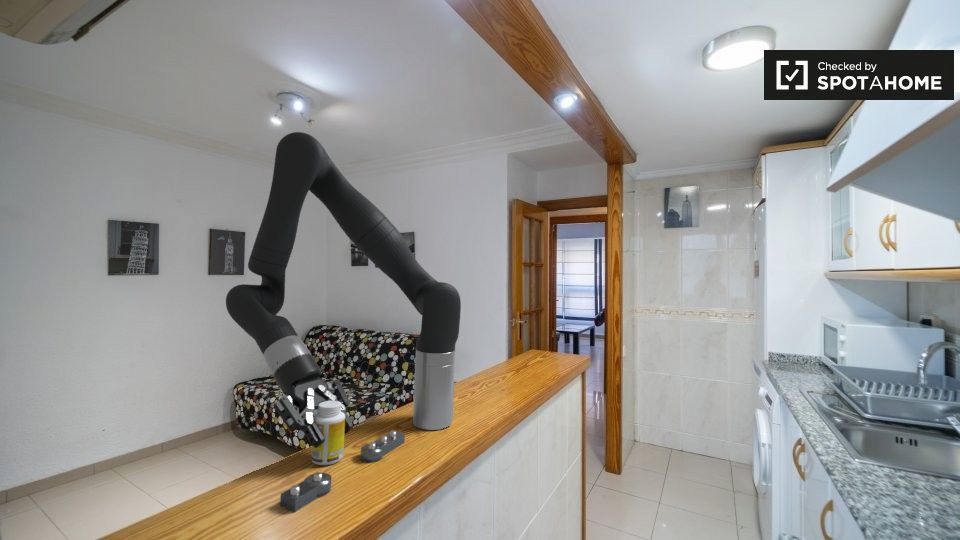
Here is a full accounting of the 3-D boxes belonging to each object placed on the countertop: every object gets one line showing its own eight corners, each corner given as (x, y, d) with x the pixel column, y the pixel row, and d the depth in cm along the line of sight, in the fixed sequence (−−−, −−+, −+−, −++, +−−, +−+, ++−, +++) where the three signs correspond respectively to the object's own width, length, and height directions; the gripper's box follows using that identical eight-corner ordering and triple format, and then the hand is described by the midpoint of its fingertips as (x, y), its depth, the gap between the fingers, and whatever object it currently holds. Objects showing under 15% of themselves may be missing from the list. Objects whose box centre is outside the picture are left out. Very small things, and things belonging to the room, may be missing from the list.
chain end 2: (390, 438, 82) (391, 426, 82) (406, 442, 80) (407, 430, 80) (355, 459, 72) (356, 445, 72) (373, 464, 70) (373, 449, 70)
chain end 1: (317, 481, 64) (318, 465, 64) (336, 488, 62) (337, 471, 62) (277, 505, 57) (278, 487, 57) (297, 513, 55) (298, 494, 55)
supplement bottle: (346, 452, 75) (349, 399, 75) (338, 466, 69) (341, 409, 69) (316, 452, 74) (319, 398, 74) (306, 467, 69) (309, 408, 69)
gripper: (269, 359, 68) (315, 440, 63) (331, 347, 82) (373, 413, 77) (247, 384, 70) (290, 465, 65) (311, 369, 84) (351, 435, 79)
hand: (335, 437), depth 71 cm, fingers open, 6 cm apart
